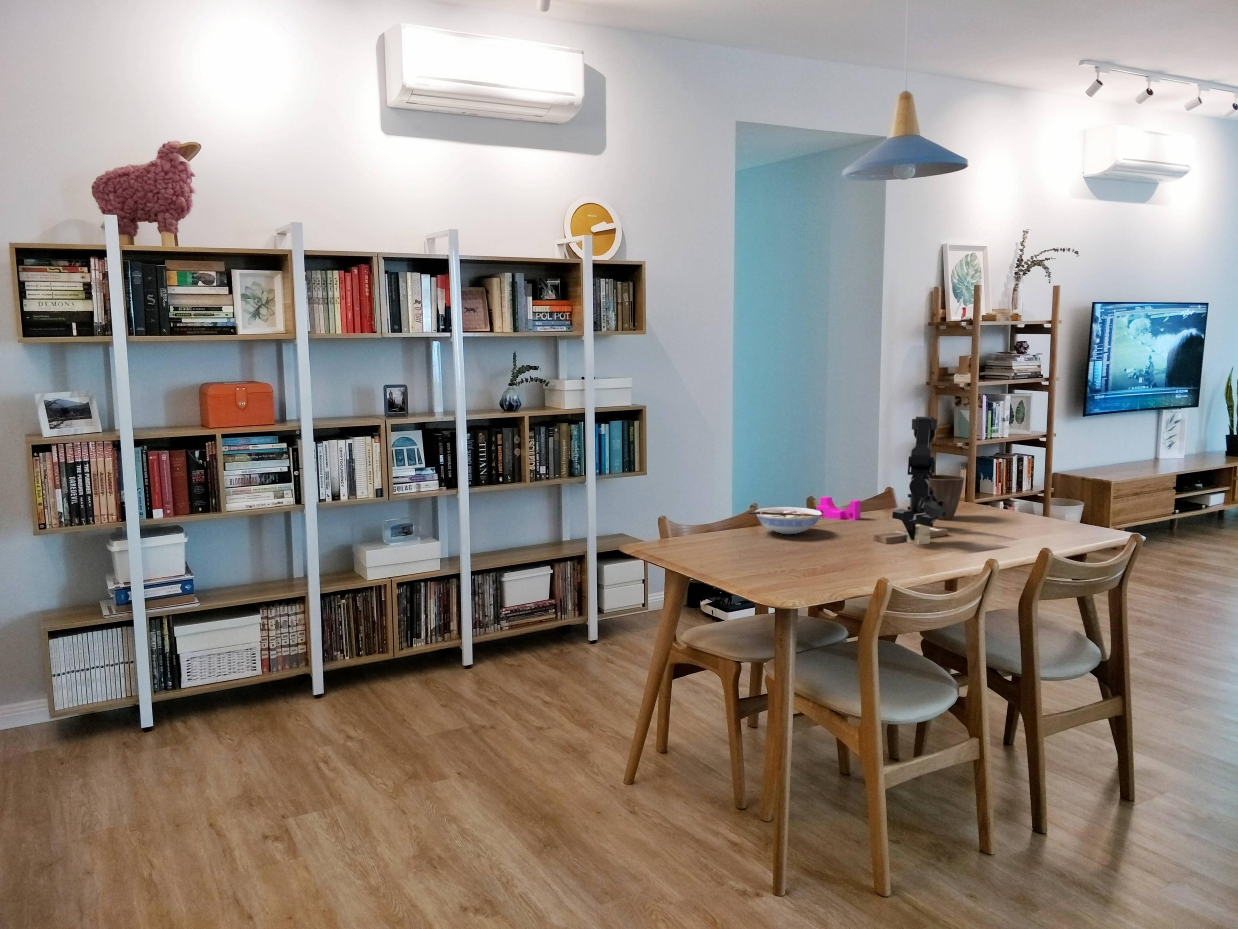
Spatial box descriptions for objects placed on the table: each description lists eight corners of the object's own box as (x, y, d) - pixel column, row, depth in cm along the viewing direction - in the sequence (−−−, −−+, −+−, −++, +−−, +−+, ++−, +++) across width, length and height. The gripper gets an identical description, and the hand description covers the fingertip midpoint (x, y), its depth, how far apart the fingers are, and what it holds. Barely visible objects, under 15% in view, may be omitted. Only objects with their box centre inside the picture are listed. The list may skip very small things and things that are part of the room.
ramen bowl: (827, 528, 342) (827, 506, 341) (822, 541, 320) (823, 516, 319) (756, 526, 349) (756, 503, 348) (747, 537, 327) (747, 513, 326)
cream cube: (904, 541, 318) (904, 525, 317) (915, 540, 320) (915, 523, 320) (918, 544, 313) (919, 528, 312) (929, 543, 315) (930, 526, 314)
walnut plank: (872, 540, 320) (873, 534, 320) (934, 532, 334) (934, 526, 333) (886, 543, 315) (886, 537, 315) (947, 535, 328) (947, 528, 328)
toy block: (816, 518, 365) (816, 498, 364) (825, 515, 370) (825, 496, 369) (851, 522, 355) (851, 502, 354) (860, 520, 359) (860, 500, 358)
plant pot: (911, 517, 363) (913, 475, 361) (945, 515, 367) (947, 473, 365) (936, 524, 349) (937, 480, 347) (971, 522, 353) (972, 478, 351)
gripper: (917, 496, 303) (916, 546, 304) (960, 492, 312) (958, 540, 313) (891, 492, 312) (890, 540, 314) (933, 488, 321) (931, 534, 323)
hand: (918, 539), depth 316 cm, fingers closed on cream cube, 5 cm apart
